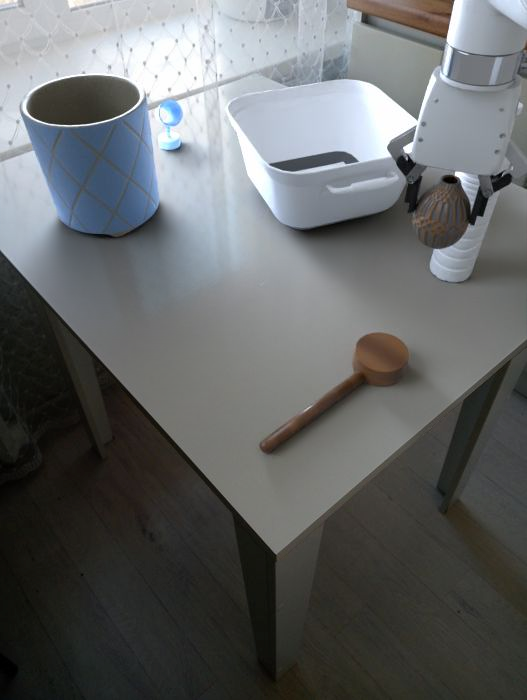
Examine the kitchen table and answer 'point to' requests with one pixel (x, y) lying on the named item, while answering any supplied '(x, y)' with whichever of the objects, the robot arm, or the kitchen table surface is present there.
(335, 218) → the white plastic wash basin
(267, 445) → the ladle
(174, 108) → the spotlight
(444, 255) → the water bottle
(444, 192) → the vase
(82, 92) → the planter
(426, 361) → the kitchen table surface
